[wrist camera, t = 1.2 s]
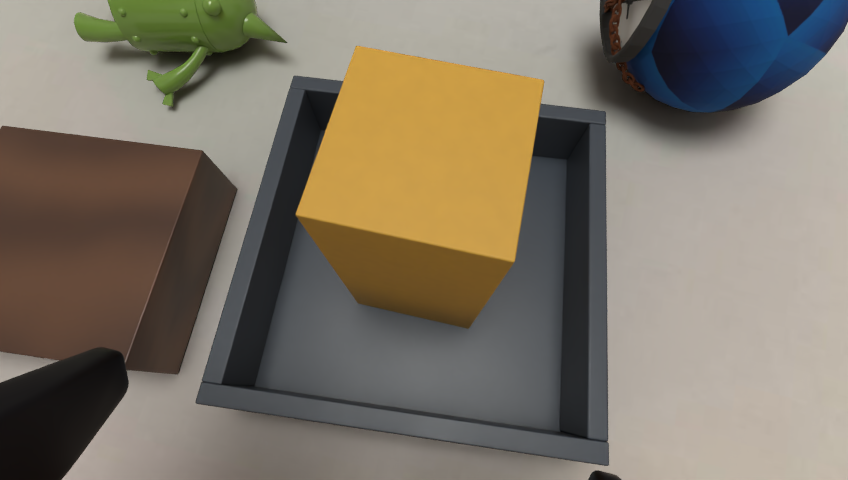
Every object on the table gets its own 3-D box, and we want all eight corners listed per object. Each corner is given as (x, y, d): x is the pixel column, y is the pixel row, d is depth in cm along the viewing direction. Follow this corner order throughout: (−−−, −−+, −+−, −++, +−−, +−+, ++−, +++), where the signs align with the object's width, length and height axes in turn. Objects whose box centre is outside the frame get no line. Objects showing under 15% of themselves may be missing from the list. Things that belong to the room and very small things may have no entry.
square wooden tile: (178, 374, 20) (123, 369, 17) (-19, 345, 21) (-116, 334, 17) (237, 188, 24) (202, 150, 20) (66, 166, 24) (1, 125, 21)
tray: (572, 452, 19) (609, 466, 16) (238, 402, 20) (194, 403, 16) (577, 155, 25) (606, 110, 21) (312, 123, 25) (292, 74, 22)
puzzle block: (468, 328, 21) (515, 262, 10) (357, 303, 21) (294, 214, 11) (488, 224, 23) (544, 79, 12) (386, 202, 23) (355, 44, 13)
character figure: (39, -135, 22) (270, -133, 22) (112, -70, 27) (299, -68, 27) (51, 95, 23) (274, 97, 23) (119, 116, 28) (301, 118, 28)
